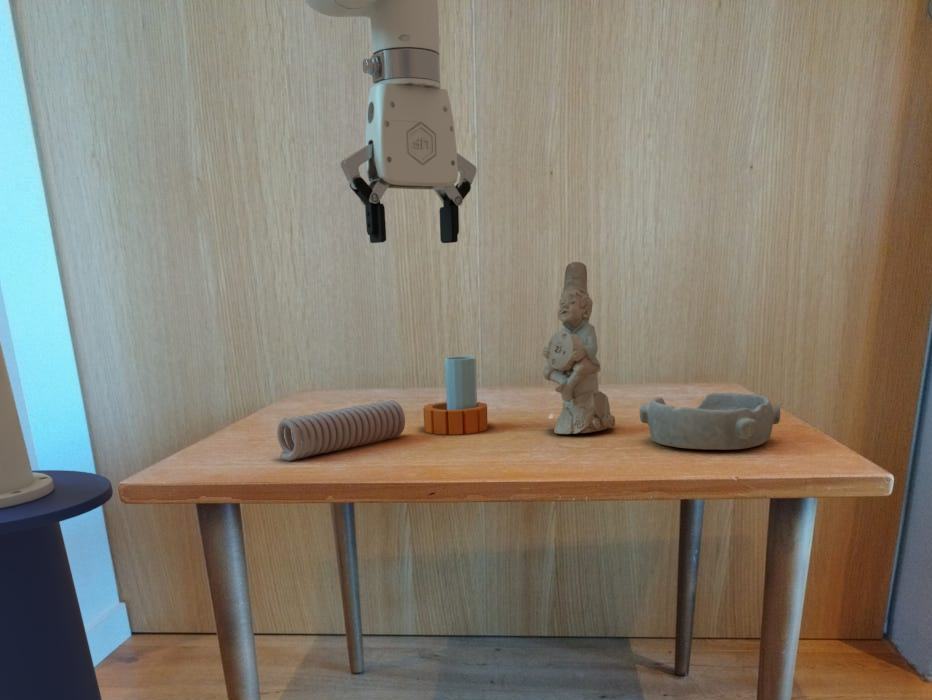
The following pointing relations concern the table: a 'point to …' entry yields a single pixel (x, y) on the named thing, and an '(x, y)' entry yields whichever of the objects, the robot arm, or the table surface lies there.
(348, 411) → the coil
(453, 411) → the ring
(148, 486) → the table surface
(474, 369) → the tumbler
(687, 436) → the dish
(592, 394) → the figurine
